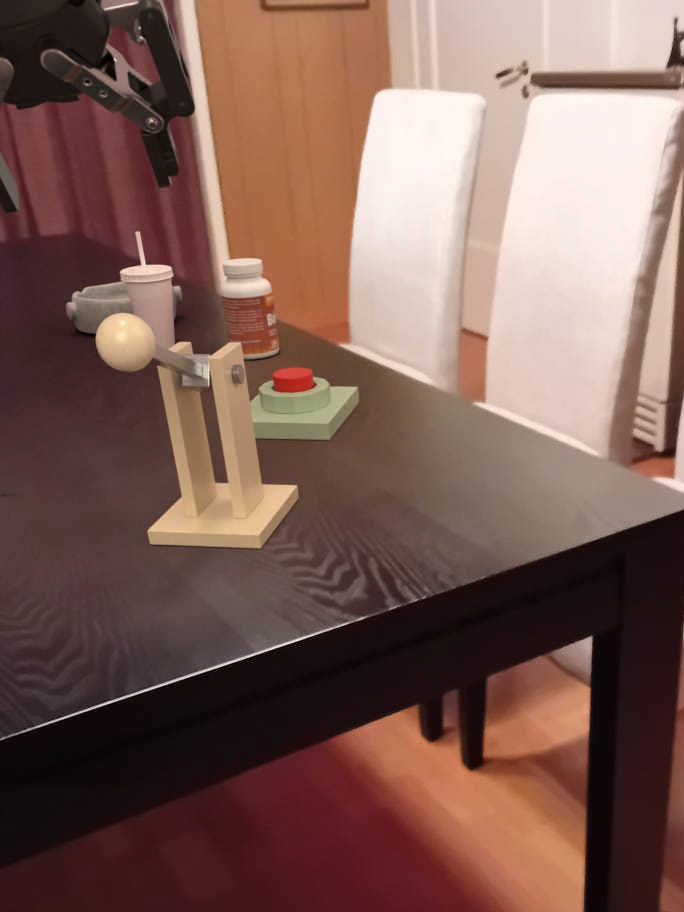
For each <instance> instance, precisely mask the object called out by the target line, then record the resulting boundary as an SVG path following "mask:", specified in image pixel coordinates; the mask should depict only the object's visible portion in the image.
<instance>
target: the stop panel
mask: <svg viewBox="0 0 684 912" xmlns="http://www.w3.org/2000/svg"><path fill="white" fill-rule="evenodd" d="M313 380H314V388H313V389H310V390H307V391H303V392H296V393H281V392H276V391H275V390H274V383H273V379H272V380H269V381H265V382H264V383H263V384H261V386H259V387H258V394H257V395H256V396H254V398H253V399H252V400H250V407H251V414H252V420H253V427H254V434H255V439H263V440H264V439H265V440H266V439H267V440H305V441H306V440H308V441H309V440H312V441H330V440H331V439H332V438H333V436H334V435H335V434H336V432H338V430H339V429H340V428H341V427H342V425H343V424H344V422H345V421H346V420H347V419H348V417H349V416H350V415H351V413H352V412H353V411H354V410H355V409H356V407H357V406H358V405H359V403H360V395H359V393H360V392H359V387H358V386H331V385H330V383H329V382H328V381H327V379H326V378H321V377H317V376H313Z"/></svg>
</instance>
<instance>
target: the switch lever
mask: <svg viewBox="0 0 684 912" xmlns="http://www.w3.org/2000/svg"><path fill="white" fill-rule="evenodd" d="M95 346H96V350H97V353H98V355H99V357H100V358H101V360H102V361H103V362H104V363H105V364H107V366H109V367H111V368H112V369H114V370H116V371H119V372H124V373H133V372H138V371H140V370H143V369H144V368H145V367H147V366H148V365H149V364H153V365H155V366H157V365H158V366H161V367H163V368H166V369H169V370H171V371H174V372H176V373H179V374H182V387H184V388H187V389H190V390H193V391H196V392H200V393H214V392H213V386H212V380H211V374H210V367H209V361H208V358H209V357H210V356H211V355H212V354H210V353H193V354H182V355H180V354H178V353H175V352H173V351H171V350H168V349H166V348H164V347H161V346H159V345H156V342H155V337H154V334H153V332H152V330H151V328H150V327H149V325H148V324H147V323H146V322H145V321H144V320H142V319H141V318H139V317H137V316H135V315H133V314H129V313H117V314H113V315H111V316H109V317H107V318H106V319H105V320H104V321H103V322H102V323H101V324H100V326H99V328H98V330H97V333H96V334H95Z"/></svg>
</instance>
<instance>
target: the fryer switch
mask: <svg viewBox="0 0 684 912" xmlns="http://www.w3.org/2000/svg"><path fill="white" fill-rule="evenodd" d="M168 350H171V351H173V352H175V353H178V354H180V355H182V354H194V351H193V346H192V342H191V341H178V342H177V343H175V345H174V346H172V347H171V348H169V349H168ZM210 355H211V356H210V357H209V358H208V361H209V367H210V374H211V380H212V386H213V392H212V393H213V397H214V403H215V404H214V405H215V409H216V416H217V422H218V428H219V434H220V441H221V447H222V453H223V459H224V465H225V471H226V477H227V482H216V480H215V475H214V469H213V461H212V456H211V450H210V445H209V439H208V434H207V433H208V432H207V427H206V422H205V416H204V409H203V404H202V398H201V392H196V391H193V390H190V389H187V388H184V387H182V374H179V373H176V372H174V371H171V370H169V369H166V368H163V367H161V366H158V365H156V368H157V374H158V378H159V383H160V388H161V394H162V399H163V406H164V409H165V414H166V421H167V425H168V430H169V435H170V441H171V446H172V452H173V456H174V462H175V463H174V464H175V467H176V474H177V477H178V483H179V484H178V485H179V489H180V493H181V496H180V498H179V499H178V500H177V501H175V503H173V505H172V506H170V507H169V509H167V510H166V511H165V512H164V513H163V515H161V516H160V517H159V518H158V519H157V521H155V522H154V523H153V524H152V525H151V526H150V527H149V528H148V529H147V530H146V532H147V536H148V540H149V541H148V542H149V545H155V546H156V545H158V546H159V545H160V546H180V547H181V546H182V547H184V546H185V547H208V548H211V547H212V548H233V549H236V548H237V549H262V547H264V545H265V544H266V543H267V541H268V540H269V538H270V537H271V536H272V535H273V533H274V532H275V531H276V529H277V528H278V527H279V525H280V524H281V523H282V521H283V520H284V519H285V517H286V516H287V515H288V513H289V512H290V511H291V509H292V508H293V507H294V505H295V504H296V503H297V501H298V500H299V498H300V497H299V488H298V485H297V484H295V485H294V484H265V483H263V484H262V477H261V470H260V461H259V456H258V449H257V442H256V438H255V434H254V427H253V420H252V414H251V407H250V402H251V400H250V393H249V386H248V380H247V379H248V378H247V372H246V365H245V359H243V352H242V345H241V343H240V342H229V343H228V342H227V343H226V344H225V345H224V346H222V347H220V348H219V349H218V350H217V351H215V352H214V353H213V354H210Z"/></svg>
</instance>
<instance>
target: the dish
mask: <svg viewBox="0 0 684 912" xmlns="http://www.w3.org/2000/svg"><path fill="white" fill-rule="evenodd" d="M172 299H173V317H174V320H175V319H176V318H177V317H176V316H177V304H178V303H179V304H180V303H182V302H183V291H182V287H181V286H180V285H175V286H173V285H172ZM65 310H66V315H67V318H68V320H70V321H73V322H74V326H75V328H76V329H77V330H78V331H80V332H81V333H86V334H92V335H96V333H97V330H98V328H99V326H100V324H101V323H102V322H103V321H104V320H105V319H106V318H107V317H109V316H111V315H113V314H117V313H129V314H133V315H135V314H134V311H133V308H132V305H131V302H130V299H129V296H128V293H127V289H126V286H125V283H124V281H122V280H121V281H116V282H111V283H104V284H99V285H91V286H87V287H84V288H83V289H82V291H77V290H76V291H74V292H73V293H72V295H71V301H70V302H69V301H68V302H67V303H66V305H65Z"/></svg>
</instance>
